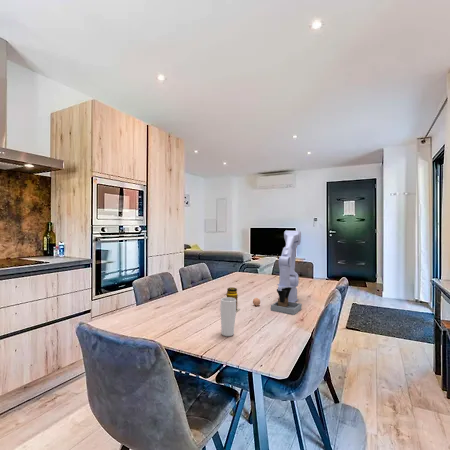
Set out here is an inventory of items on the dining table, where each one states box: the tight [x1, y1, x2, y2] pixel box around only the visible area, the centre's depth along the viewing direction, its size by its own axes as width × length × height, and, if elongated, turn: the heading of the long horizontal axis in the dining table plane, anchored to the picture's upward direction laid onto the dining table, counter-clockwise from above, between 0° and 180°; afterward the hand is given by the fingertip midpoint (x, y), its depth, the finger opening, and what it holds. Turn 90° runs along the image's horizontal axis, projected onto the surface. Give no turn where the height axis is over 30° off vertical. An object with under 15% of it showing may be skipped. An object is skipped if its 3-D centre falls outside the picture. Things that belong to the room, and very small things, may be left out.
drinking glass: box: [219, 297, 237, 337], centre depth 121 cm, size 7×7×15 cm
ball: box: [252, 297, 261, 307], centre depth 165 cm, size 4×4×4 cm
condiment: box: [225, 287, 241, 312], centre depth 155 cm, size 7×8×12 cm
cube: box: [277, 297, 288, 307], centre depth 162 cm, size 4×4×4 cm
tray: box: [270, 300, 303, 316], centre depth 158 cm, size 13×13×3 cm
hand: (283, 301), depth 161 cm, fingers open, 5 cm apart
